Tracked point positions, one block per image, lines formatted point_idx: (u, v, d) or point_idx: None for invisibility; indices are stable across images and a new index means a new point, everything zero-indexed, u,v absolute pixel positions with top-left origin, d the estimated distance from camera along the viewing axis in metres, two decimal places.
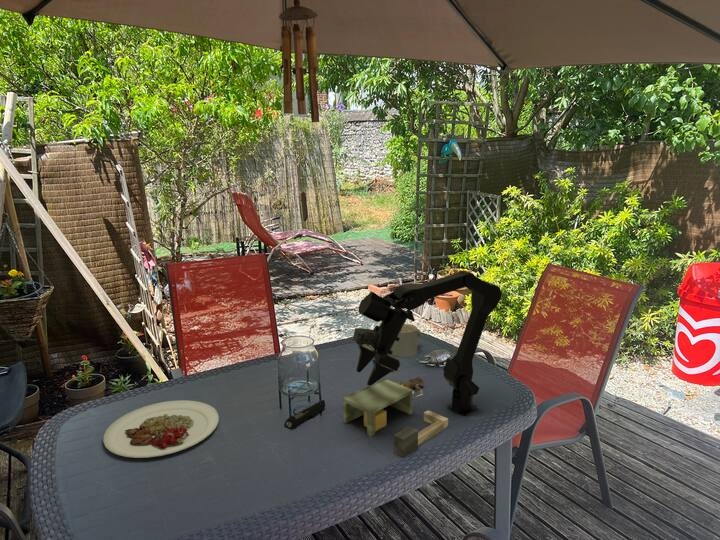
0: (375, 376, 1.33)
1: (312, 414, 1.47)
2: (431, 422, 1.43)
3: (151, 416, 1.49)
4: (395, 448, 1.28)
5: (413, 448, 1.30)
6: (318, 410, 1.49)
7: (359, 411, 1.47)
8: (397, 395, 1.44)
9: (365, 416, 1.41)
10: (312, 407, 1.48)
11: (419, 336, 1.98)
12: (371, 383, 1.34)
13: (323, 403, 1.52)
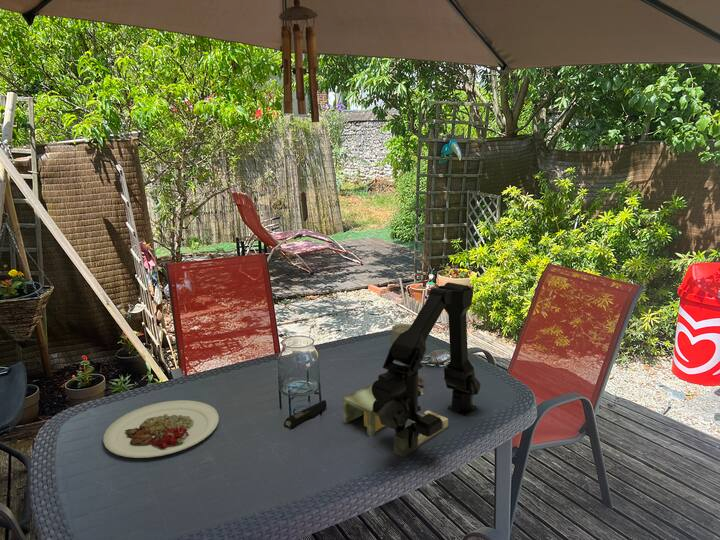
0: (413, 438, 1.27)
1: (312, 414, 1.47)
2: None
3: (151, 416, 1.49)
4: (395, 448, 1.28)
5: (413, 448, 1.30)
6: (319, 410, 1.49)
7: (359, 411, 1.47)
8: None
9: (365, 416, 1.41)
10: (313, 407, 1.48)
11: None
12: (413, 444, 1.28)
13: (324, 403, 1.51)
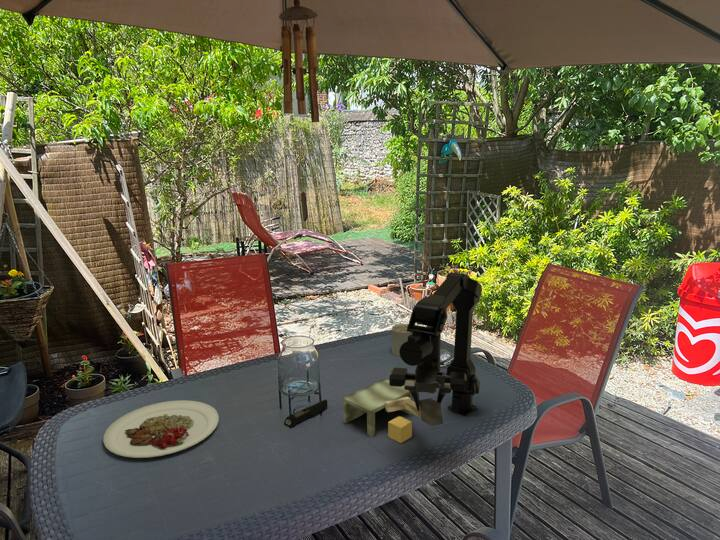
0: None
1: (313, 413, 1.47)
2: (397, 408, 1.38)
3: (151, 416, 1.49)
4: (433, 419, 1.21)
5: None
6: (319, 409, 1.49)
7: (359, 411, 1.47)
8: (397, 395, 1.44)
9: (390, 427, 1.35)
10: (313, 406, 1.49)
11: None
12: None
13: (325, 403, 1.52)
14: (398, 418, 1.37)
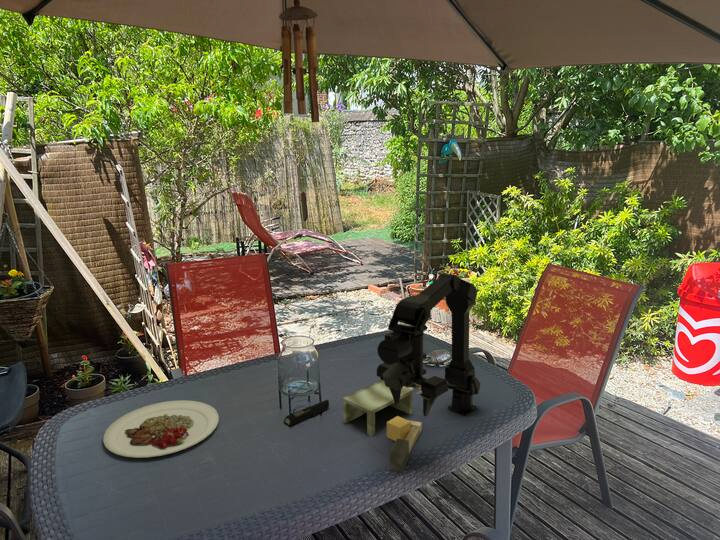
0: (428, 405, 1.22)
1: (313, 413, 1.47)
2: None
3: (151, 416, 1.49)
4: (391, 464, 1.22)
5: (406, 460, 1.25)
6: (320, 409, 1.49)
7: (359, 411, 1.47)
8: None
9: (388, 427, 1.35)
10: (314, 406, 1.49)
11: None
12: (427, 412, 1.23)
13: (327, 403, 1.52)
14: (396, 418, 1.37)
